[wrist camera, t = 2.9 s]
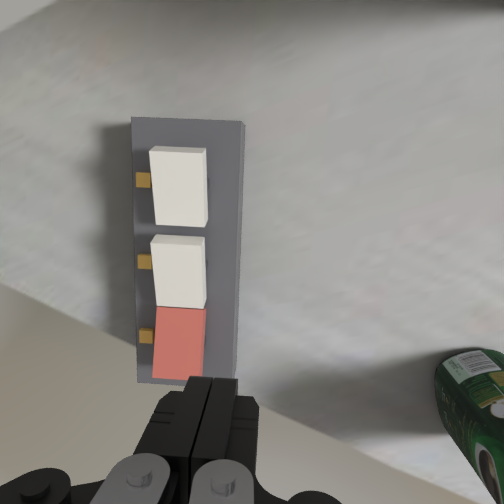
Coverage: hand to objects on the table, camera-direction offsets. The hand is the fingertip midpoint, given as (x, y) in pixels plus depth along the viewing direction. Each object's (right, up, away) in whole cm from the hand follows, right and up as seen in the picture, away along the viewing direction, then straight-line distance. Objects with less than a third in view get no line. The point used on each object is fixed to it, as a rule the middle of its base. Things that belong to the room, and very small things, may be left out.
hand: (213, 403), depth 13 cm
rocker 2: (-5, +4, +22) cm, 23 cm away
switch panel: (-4, +5, +27) cm, 27 cm away
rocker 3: (-5, -3, +24) cm, 24 cm away
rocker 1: (-4, +10, +21) cm, 24 cm away
